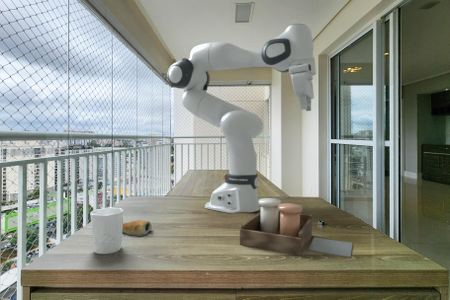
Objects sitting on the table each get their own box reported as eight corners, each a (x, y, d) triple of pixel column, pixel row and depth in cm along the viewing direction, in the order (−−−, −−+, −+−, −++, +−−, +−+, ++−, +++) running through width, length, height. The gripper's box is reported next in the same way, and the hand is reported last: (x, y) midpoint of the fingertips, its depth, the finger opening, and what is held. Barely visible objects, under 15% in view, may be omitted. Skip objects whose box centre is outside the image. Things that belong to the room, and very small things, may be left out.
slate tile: (307, 252, 75) (307, 249, 75) (314, 240, 84) (314, 237, 84) (350, 259, 71) (350, 256, 71) (352, 245, 80) (352, 243, 80)
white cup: (97, 244, 80) (96, 207, 80) (127, 243, 81) (126, 207, 81) (86, 255, 73) (85, 215, 72) (119, 255, 73) (118, 215, 73)
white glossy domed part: (255, 235, 86) (255, 201, 85) (262, 229, 92) (262, 197, 91) (276, 239, 83) (277, 203, 83) (282, 232, 89) (283, 199, 88)
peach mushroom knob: (274, 244, 79) (275, 207, 79) (281, 236, 85) (281, 202, 85) (298, 248, 77) (299, 210, 76) (303, 240, 82) (304, 204, 82)
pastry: (114, 234, 89) (114, 222, 88) (126, 228, 95) (126, 216, 95) (143, 237, 87) (143, 224, 87) (153, 230, 93) (153, 218, 93)
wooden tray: (239, 246, 79) (240, 222, 79) (259, 229, 93) (259, 208, 93) (300, 257, 72) (300, 230, 72) (311, 237, 86) (312, 215, 86)
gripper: (299, 77, 115) (302, 112, 116) (287, 67, 97) (291, 109, 97) (315, 74, 113) (319, 110, 113) (307, 63, 94) (311, 107, 95)
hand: (306, 110), depth 105 cm, fingers open, 8 cm apart
